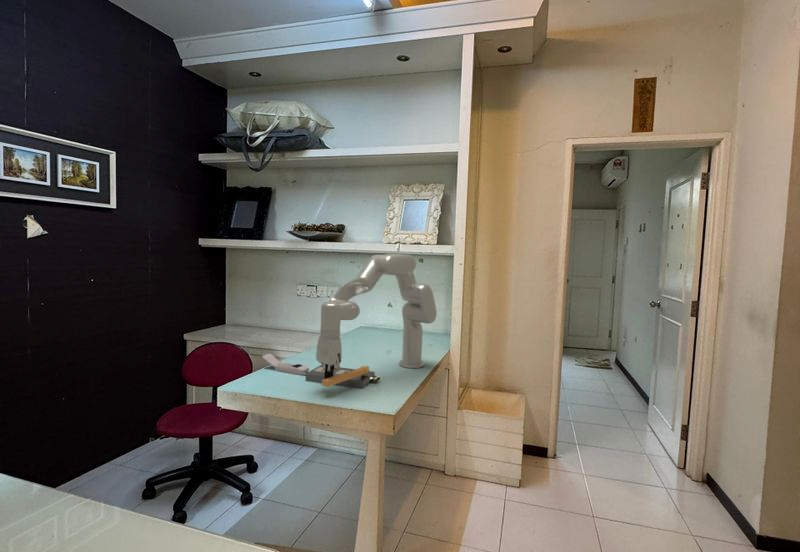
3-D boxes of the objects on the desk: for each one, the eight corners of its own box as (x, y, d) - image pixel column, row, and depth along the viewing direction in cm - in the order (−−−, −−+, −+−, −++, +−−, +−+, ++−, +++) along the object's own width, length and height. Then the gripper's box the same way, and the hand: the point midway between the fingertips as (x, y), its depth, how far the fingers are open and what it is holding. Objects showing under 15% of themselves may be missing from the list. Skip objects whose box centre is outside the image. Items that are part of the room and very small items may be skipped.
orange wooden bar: (321, 385, 153) (321, 379, 153) (364, 371, 173) (364, 365, 173) (327, 387, 151) (328, 381, 151) (370, 372, 171) (370, 367, 171)
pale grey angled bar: (269, 353, 191) (313, 360, 181) (269, 365, 191) (313, 373, 182) (260, 356, 185) (305, 363, 176) (260, 368, 185) (305, 377, 176)
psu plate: (320, 371, 184) (321, 362, 184) (374, 378, 177) (374, 369, 177) (305, 380, 171) (305, 371, 170) (362, 388, 163) (363, 379, 163)
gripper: (310, 332, 158) (308, 378, 160) (336, 338, 149) (335, 386, 151) (324, 329, 164) (322, 373, 166) (350, 335, 155) (349, 382, 157)
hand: (328, 379), depth 158 cm, fingers closed
